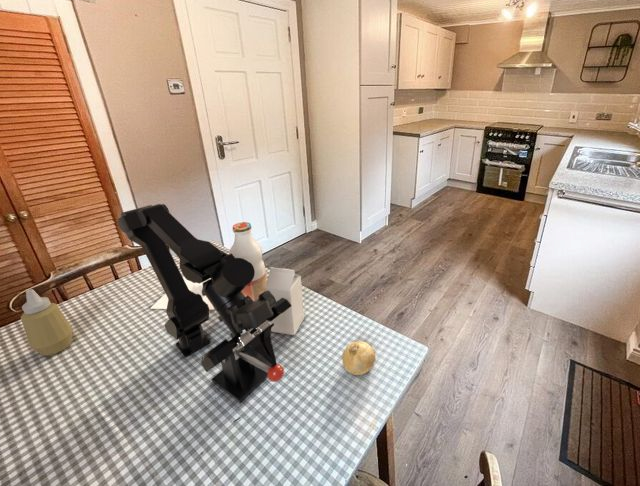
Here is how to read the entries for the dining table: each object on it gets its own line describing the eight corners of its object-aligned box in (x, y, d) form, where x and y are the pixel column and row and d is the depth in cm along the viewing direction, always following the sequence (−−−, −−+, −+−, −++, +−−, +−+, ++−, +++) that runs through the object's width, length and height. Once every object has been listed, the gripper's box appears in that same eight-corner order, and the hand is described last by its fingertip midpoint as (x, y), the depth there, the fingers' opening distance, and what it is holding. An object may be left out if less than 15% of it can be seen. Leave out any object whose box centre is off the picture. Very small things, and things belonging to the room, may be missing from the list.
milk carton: (294, 336, 84) (288, 277, 77) (271, 332, 85) (263, 274, 78) (304, 318, 90) (299, 263, 83) (282, 315, 92) (276, 260, 85)
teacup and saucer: (212, 293, 101) (210, 283, 99) (188, 293, 101) (186, 283, 99) (224, 278, 109) (222, 268, 108) (202, 278, 109) (200, 268, 108)
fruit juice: (271, 311, 93) (260, 229, 83) (239, 319, 90) (223, 234, 79) (268, 293, 101) (257, 216, 91) (237, 300, 98) (223, 221, 87)
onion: (354, 348, 80) (353, 327, 77) (380, 361, 76) (381, 340, 73) (336, 371, 73) (335, 349, 71) (364, 386, 70) (364, 363, 67)
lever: (288, 376, 62) (285, 364, 61) (276, 388, 60) (274, 375, 59) (238, 349, 70) (235, 338, 69) (226, 358, 68) (223, 347, 67)
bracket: (268, 376, 72) (263, 341, 68) (240, 404, 65) (232, 367, 61) (241, 358, 77) (234, 324, 73) (212, 382, 70) (203, 347, 66)
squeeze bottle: (83, 341, 81) (59, 285, 75) (44, 364, 75) (13, 305, 68) (68, 332, 85) (43, 277, 78) (28, 353, 78) (-3, 295, 71)
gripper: (197, 317, 49) (252, 397, 48) (281, 265, 64) (324, 325, 63) (180, 336, 56) (228, 406, 55) (260, 284, 71) (299, 339, 70)
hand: (274, 365), depth 61 cm, fingers closed, pressing on lever
